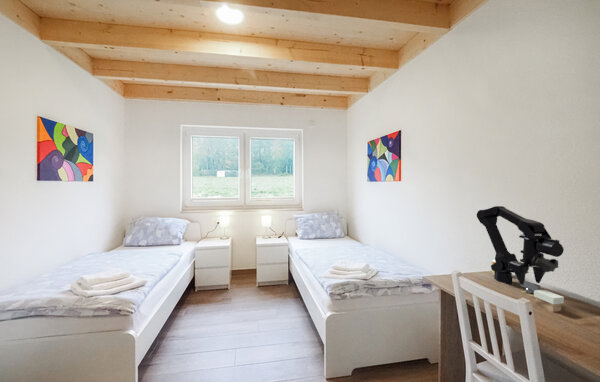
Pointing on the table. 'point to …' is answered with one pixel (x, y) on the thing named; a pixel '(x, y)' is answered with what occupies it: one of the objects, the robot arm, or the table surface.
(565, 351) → the table surface
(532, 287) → the grey stone
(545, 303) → the lock board
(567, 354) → the table surface
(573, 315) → the table surface
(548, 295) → the cover
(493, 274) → the supplement bottle
